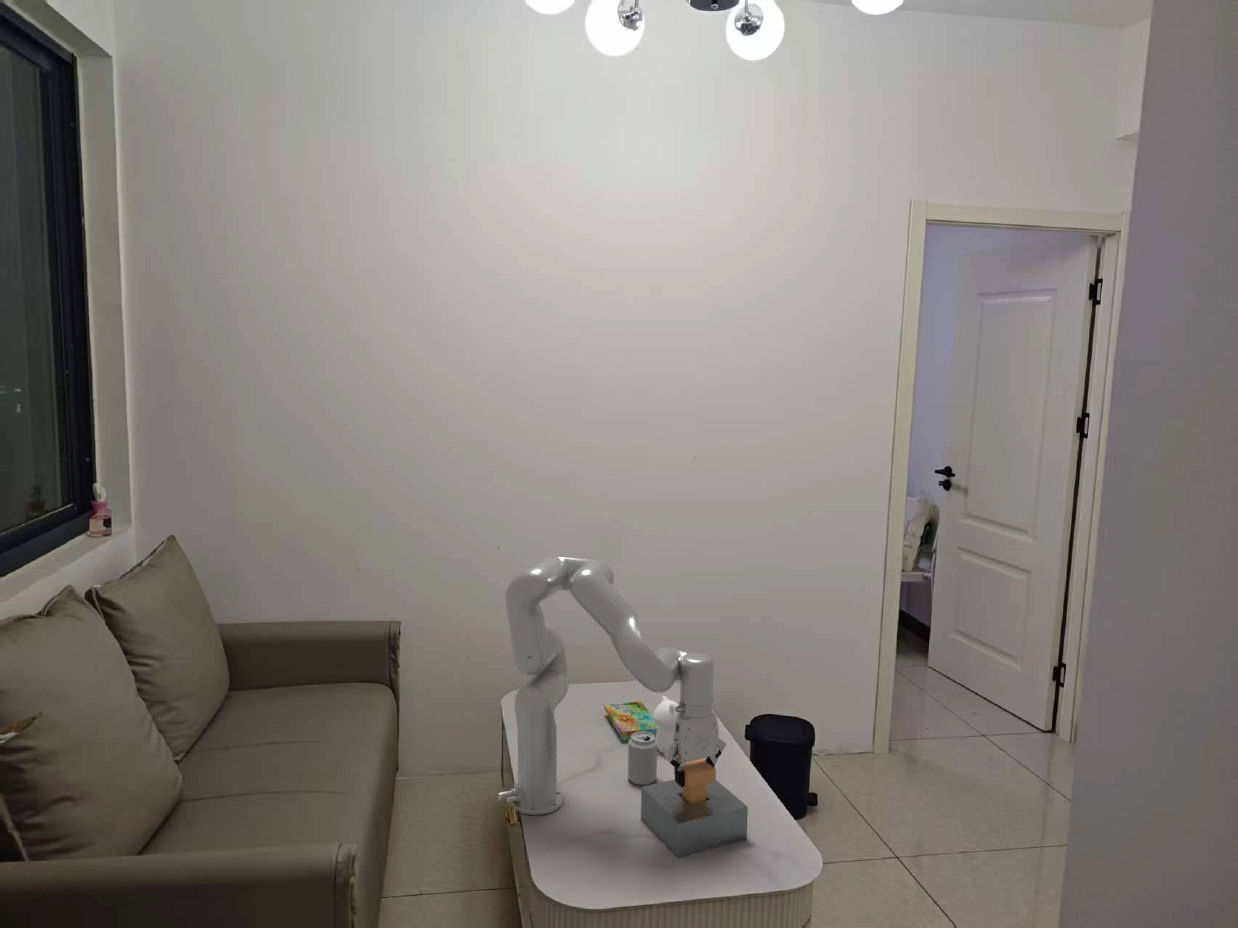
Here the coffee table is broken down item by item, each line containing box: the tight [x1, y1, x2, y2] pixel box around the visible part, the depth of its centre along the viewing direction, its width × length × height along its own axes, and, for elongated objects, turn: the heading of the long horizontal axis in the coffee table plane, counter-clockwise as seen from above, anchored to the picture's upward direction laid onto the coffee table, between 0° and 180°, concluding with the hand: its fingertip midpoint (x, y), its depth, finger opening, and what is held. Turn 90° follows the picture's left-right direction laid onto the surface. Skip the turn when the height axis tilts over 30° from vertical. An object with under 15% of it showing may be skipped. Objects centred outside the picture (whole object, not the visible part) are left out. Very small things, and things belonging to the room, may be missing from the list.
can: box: [627, 732, 658, 786], centre depth 230 cm, size 8×8×12 cm
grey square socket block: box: [640, 779, 749, 859], centre depth 207 cm, size 18×18×8 cm
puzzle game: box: [603, 700, 659, 743], centre depth 263 cm, size 12×5×20 cm
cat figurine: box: [652, 695, 680, 754], centre depth 248 cm, size 9×12×15 cm
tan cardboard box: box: [673, 758, 717, 805], centre depth 206 cm, size 7×7×9 cm
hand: (694, 780), depth 206 cm, fingers closed on tan cardboard box, 7 cm apart
